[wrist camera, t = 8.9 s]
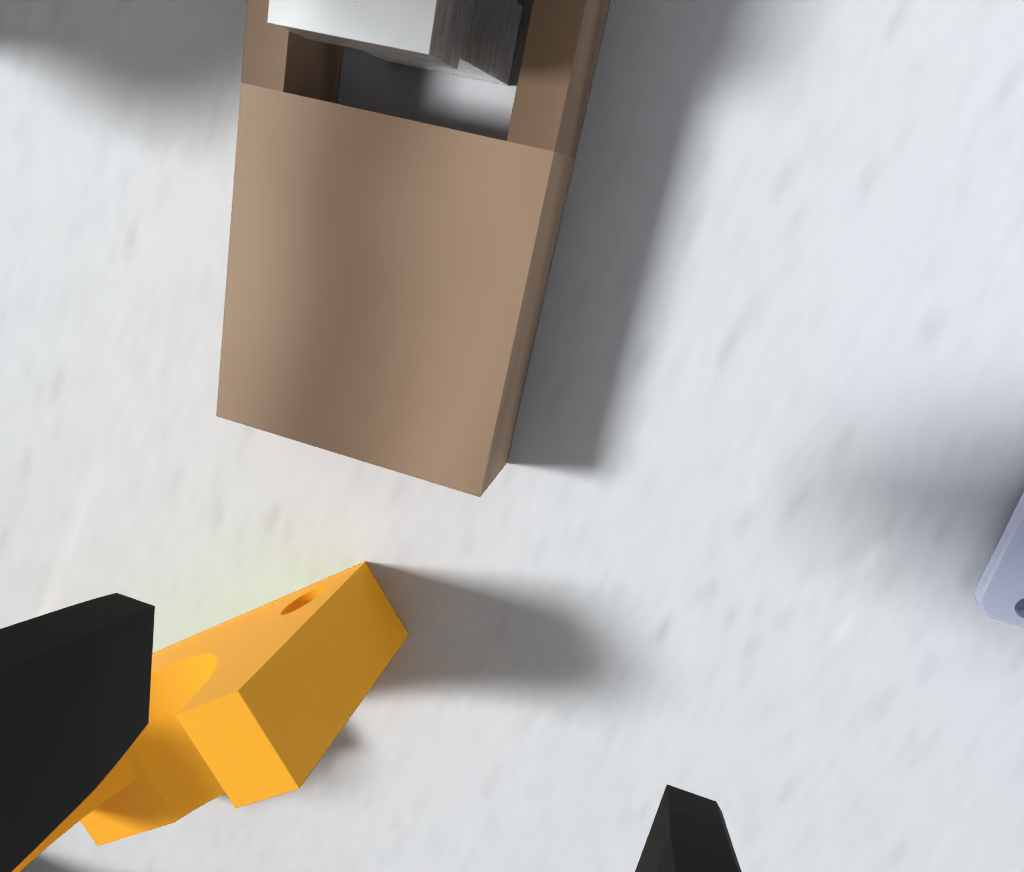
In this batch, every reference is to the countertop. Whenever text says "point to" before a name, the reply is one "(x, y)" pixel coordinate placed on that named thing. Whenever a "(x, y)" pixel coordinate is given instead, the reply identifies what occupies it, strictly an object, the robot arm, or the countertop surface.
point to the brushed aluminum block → (413, 31)
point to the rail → (395, 254)
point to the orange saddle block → (246, 706)
